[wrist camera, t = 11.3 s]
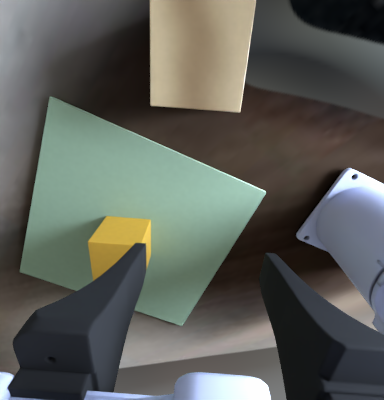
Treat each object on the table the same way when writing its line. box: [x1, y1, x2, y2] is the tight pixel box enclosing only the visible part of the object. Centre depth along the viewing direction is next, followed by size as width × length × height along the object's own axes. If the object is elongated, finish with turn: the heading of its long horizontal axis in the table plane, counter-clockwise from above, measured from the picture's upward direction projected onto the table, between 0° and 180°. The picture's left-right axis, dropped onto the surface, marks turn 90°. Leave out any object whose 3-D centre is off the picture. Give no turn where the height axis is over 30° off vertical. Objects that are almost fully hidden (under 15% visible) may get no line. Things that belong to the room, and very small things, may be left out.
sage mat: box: [20, 97, 266, 326], centre depth 25 cm, size 20×20×1 cm
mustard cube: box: [88, 216, 151, 281], centre depth 23 cm, size 4×4×4 cm
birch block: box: [150, 0, 256, 113], centre depth 17 cm, size 6×6×4 cm
